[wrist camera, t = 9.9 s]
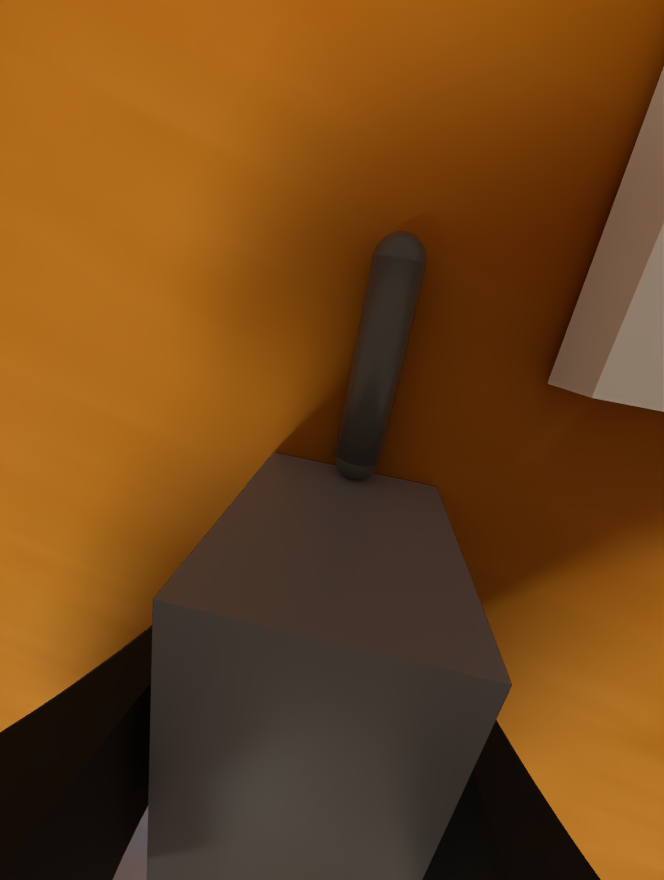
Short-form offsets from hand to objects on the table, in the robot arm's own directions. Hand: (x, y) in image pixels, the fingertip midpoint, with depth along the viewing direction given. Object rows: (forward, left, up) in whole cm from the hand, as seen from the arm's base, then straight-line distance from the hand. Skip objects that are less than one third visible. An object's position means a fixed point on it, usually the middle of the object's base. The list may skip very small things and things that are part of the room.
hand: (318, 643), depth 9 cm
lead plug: (+2, 0, -1) cm, 2 cm away
